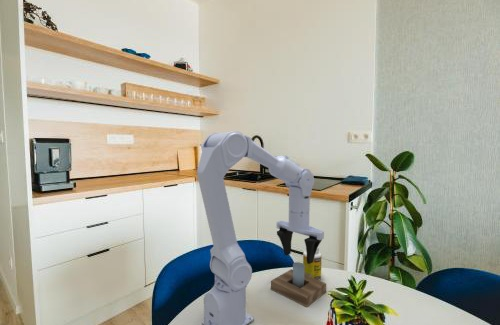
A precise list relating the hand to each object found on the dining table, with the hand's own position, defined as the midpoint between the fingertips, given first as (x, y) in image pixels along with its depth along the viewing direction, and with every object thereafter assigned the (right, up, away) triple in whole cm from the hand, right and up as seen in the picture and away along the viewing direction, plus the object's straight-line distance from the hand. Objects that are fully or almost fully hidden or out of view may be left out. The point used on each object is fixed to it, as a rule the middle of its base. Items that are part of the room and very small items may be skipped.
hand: (298, 258), depth 72 cm
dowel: (0, -9, +1) cm, 9 cm away
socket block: (0, -9, +1) cm, 9 cm away
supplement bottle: (+6, -9, +8) cm, 13 cm away
